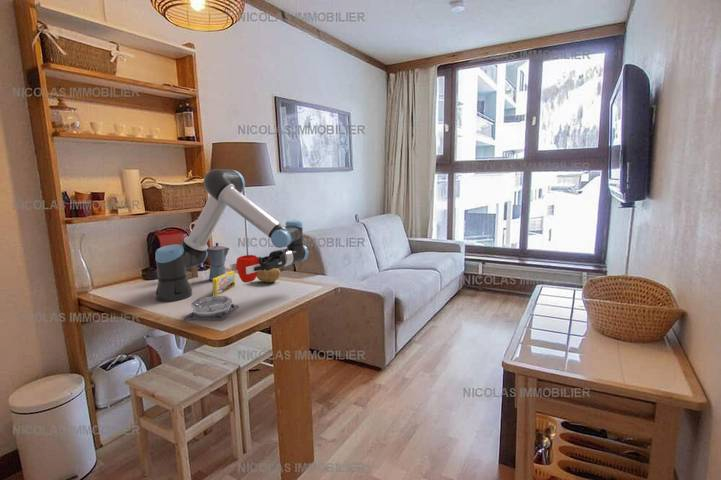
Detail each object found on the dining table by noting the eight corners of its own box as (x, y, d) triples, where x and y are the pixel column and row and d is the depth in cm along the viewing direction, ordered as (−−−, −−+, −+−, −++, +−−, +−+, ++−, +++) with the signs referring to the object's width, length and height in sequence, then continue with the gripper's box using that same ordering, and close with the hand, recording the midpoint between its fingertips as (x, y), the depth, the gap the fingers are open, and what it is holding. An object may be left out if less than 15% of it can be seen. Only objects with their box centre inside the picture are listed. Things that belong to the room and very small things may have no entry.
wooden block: (198, 276, 208) (195, 245, 205) (180, 281, 199) (176, 248, 196) (194, 275, 210) (191, 244, 207) (176, 280, 201) (172, 247, 198)
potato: (263, 278, 201) (262, 264, 199) (285, 280, 195) (284, 266, 193) (251, 283, 192) (250, 268, 191) (273, 285, 186) (272, 270, 185)
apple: (258, 283, 146) (256, 257, 145) (235, 284, 146) (233, 257, 144) (262, 278, 155) (260, 252, 153) (240, 279, 155) (238, 253, 153)
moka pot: (231, 280, 198) (228, 243, 195) (200, 282, 195) (196, 245, 192) (233, 276, 207) (230, 240, 204) (203, 278, 204) (200, 242, 201)
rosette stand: (184, 320, 142) (183, 307, 141) (204, 306, 157) (203, 295, 156) (222, 320, 141) (221, 307, 140) (238, 307, 156) (237, 295, 155)
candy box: (216, 296, 171) (215, 279, 170) (212, 296, 172) (211, 279, 170) (235, 286, 187) (234, 270, 185) (232, 286, 187) (230, 270, 186)
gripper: (298, 269, 159) (258, 282, 141) (264, 264, 171) (222, 275, 152) (298, 252, 158) (256, 262, 139) (262, 248, 170) (220, 257, 151)
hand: (238, 269), depth 146 cm, fingers closed on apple, 9 cm apart
